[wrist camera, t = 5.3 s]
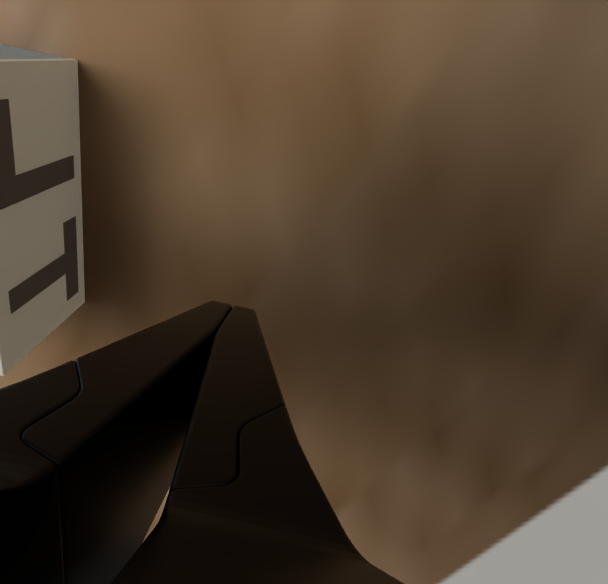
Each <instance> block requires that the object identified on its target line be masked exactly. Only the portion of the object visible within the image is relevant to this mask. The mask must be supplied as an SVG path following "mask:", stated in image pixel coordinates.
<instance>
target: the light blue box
mask: <svg viewBox="0 0 608 584" xmlns="http://www.w3.org/2000/svg"><path fill="white" fill-rule="evenodd" d="M84 303H85V287H84V254H83V221H82V188H81V155H80V122H79V89H78V60H75V59H70V58H65V57H60V56H56V55H51V54H46V53H41V52H36V51H31V50H27V49H22V48H17V47H12V46H7V45H2V44H0V376H4V375H5V374H6V373H7V372H9V371H10V370H11V369H12V368H13V367H14V366H15V365H16V364H17V363H18V362H20V361H21V360H22V359H23V358H24V357H25V356H26V355H27V354H28V353H30V352H31V351H32V350H33V349H34V348H35V347H36V346H37V345H38V344H39V343H41V342H42V341H43V340H44V339H45V338H46V337H47V336H48V335H49V334H51V333H52V332H53V331H54V330H55V329H56V328H57V327H58V326H59V325H60V324H62V323H63V322H64V321H65V320H66V319H67V318H68V317H69V316H70V315H72V314H73V313H74V312H75V311H76V310H77V309H78V308H79V307H80V306H81V305H83V304H84Z"/></svg>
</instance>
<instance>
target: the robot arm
mask: <svg viewBox="0 0 608 584" xmlns="http://www.w3.org/2000/svg"><path fill="white" fill-rule="evenodd" d="M170 485H171V486H170ZM169 487H170V490H169V494H168V497H167V500H166V503H165V507H164V510H163V513H162V515H161V518H160V520H159V522H158V524H157V525H156V527H155V528H154V529H153V531H152V532H151V533H150V534H149V536H148V537H147V538H146V539H145V541H144V542H143V540H144V538H145V536H146V534H147V532H148V530H149V528H150V526H151V524H152V522H153V520H154V518H155V516H156V514H157V512H158V510H159V508H160V506H161V504H162V501H163V499H164V497H165V495H166V493H167V491H168V489H169ZM142 542H143V543H142ZM0 584H404V583H402V582H400V581H399V580H397V579H395V578H394V577H392V576H390V575H389V574H387V573H385V572H384V571H382V570H380V569H379V568H377V567H375V566H374V565H372V564H371V563H369V562H368V561H367V560H366V559H365V558H364V557H363V556H362V555H361V554H360V553H359V552H358V550H357V549H356V548H355V547H354V545H353V544H352V542H351V541H350V539H349V538H348V536H347V535H346V533H345V531H344V529H343V527H342V526H341V524H340V522H339V520H338V518H337V516H336V514H335V512H334V510H333V508H332V507H331V505H330V503H329V501H328V499H327V497H326V495H325V493H324V491H323V489H322V488H321V486H320V484H319V482H318V480H317V478H316V476H315V474H314V472H313V470H312V469H311V467H310V465H309V462H308V460H307V458H306V456H305V454H304V452H303V450H302V448H301V446H300V444H299V441H298V439H297V436H296V434H295V431H294V428H293V426H292V423H291V420H290V417H289V414H288V411H287V408H286V407H285V402H284V399H283V396H282V393H281V390H280V387H279V384H278V381H277V378H276V375H275V372H274V369H273V365H272V362H271V359H270V356H269V353H268V350H267V347H266V344H265V341H264V338H263V335H262V332H261V329H260V325H259V322H258V319H257V316H256V313H255V311H254V310H253V309H249V308H245V307H240V306H234V307H233V308H232V306H231V305H230V304H226V303H221V302H217V301H210V302H208V303H205V304H203V305H201V306H198V307H196V308H194V309H191V310H189V311H187V312H184V313H182V314H180V315H177V316H175V317H173V318H170V319H168V320H166V321H163V322H161V323H159V324H156V325H154V326H152V327H149V328H147V329H145V330H142V331H140V332H137V333H135V334H133V335H130V336H128V337H126V338H123V339H121V340H119V341H116V342H114V343H112V344H109V345H107V346H105V347H102V348H100V349H98V350H95V351H93V352H91V353H88V354H86V355H84V356H81V357H79V358H77V359H76V360H75V361H69V362H67V363H65V364H62V365H60V366H58V367H55V368H53V369H51V370H48V371H46V372H43V373H41V374H38V375H36V376H33V377H31V378H28V379H26V380H23V381H21V382H18V383H15V384H12V385H10V386H7V387H4V388H1V389H0Z"/></svg>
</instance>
